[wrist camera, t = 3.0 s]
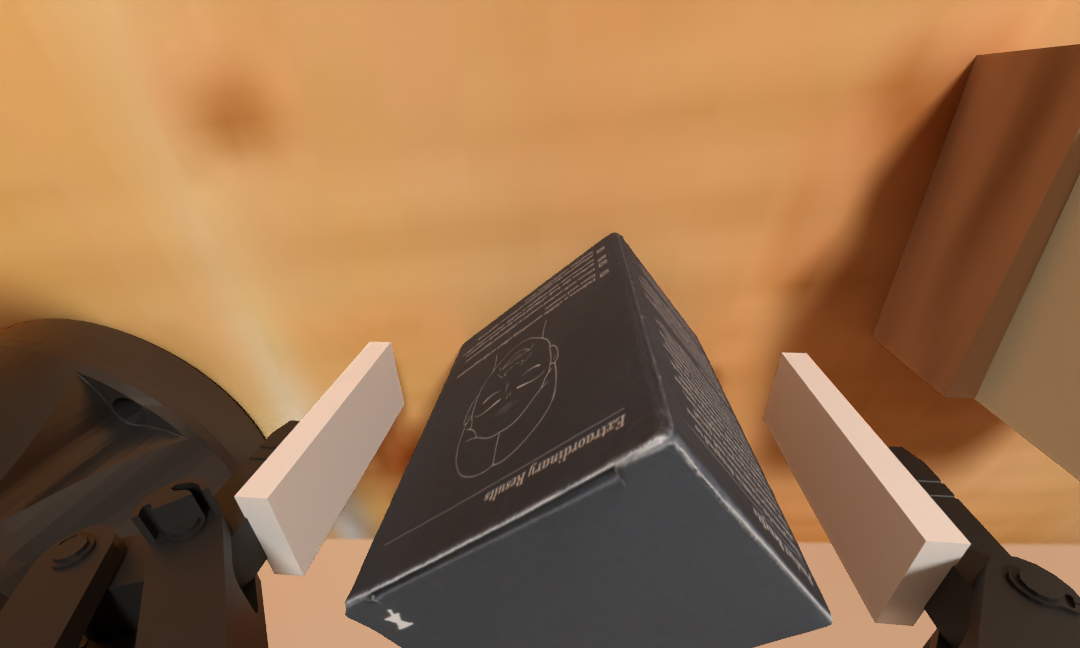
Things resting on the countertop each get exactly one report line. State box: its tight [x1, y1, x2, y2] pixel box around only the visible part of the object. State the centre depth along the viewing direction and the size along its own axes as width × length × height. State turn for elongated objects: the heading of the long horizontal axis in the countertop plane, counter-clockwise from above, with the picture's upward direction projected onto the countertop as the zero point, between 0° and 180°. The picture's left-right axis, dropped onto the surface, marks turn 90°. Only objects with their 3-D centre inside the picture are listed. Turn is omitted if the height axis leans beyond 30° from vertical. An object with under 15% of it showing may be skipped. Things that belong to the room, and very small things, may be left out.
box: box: [345, 233, 833, 648], centre depth 13 cm, size 8×6×11 cm
